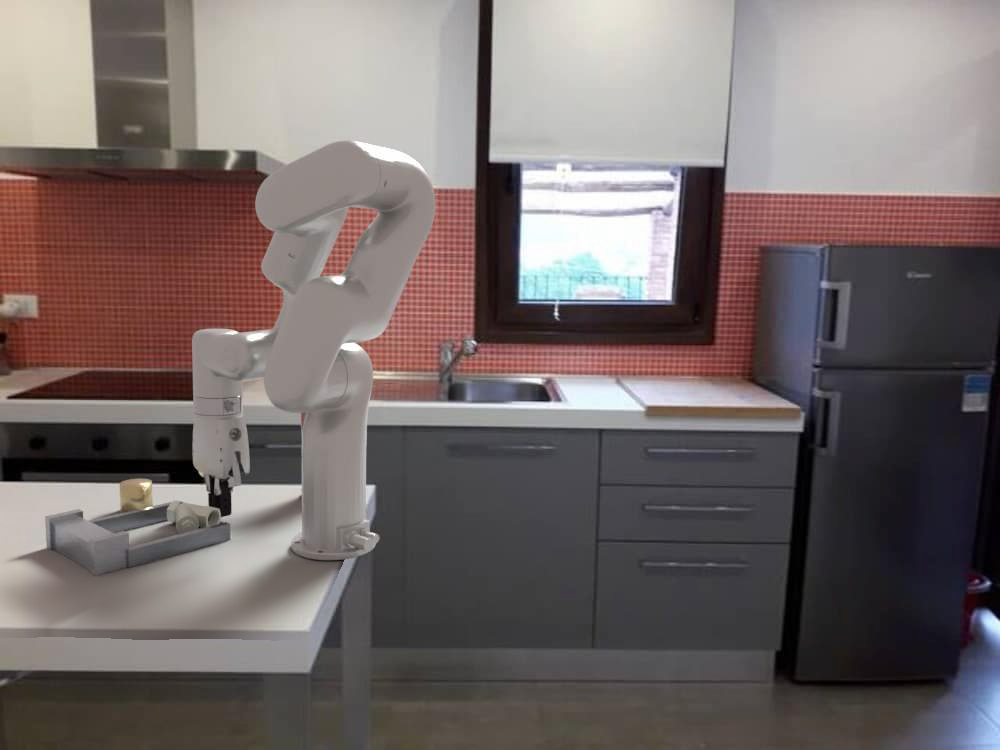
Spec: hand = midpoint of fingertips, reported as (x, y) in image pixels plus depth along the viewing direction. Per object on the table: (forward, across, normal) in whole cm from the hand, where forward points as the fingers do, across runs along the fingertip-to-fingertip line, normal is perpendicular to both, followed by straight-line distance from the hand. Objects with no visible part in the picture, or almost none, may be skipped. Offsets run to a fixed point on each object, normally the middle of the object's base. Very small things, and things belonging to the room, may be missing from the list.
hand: (220, 515), depth 134 cm
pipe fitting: (+2, +1, +6) cm, 6 cm away
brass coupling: (+1, +15, +7) cm, 16 cm away
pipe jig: (+1, 0, +14) cm, 14 cm away
